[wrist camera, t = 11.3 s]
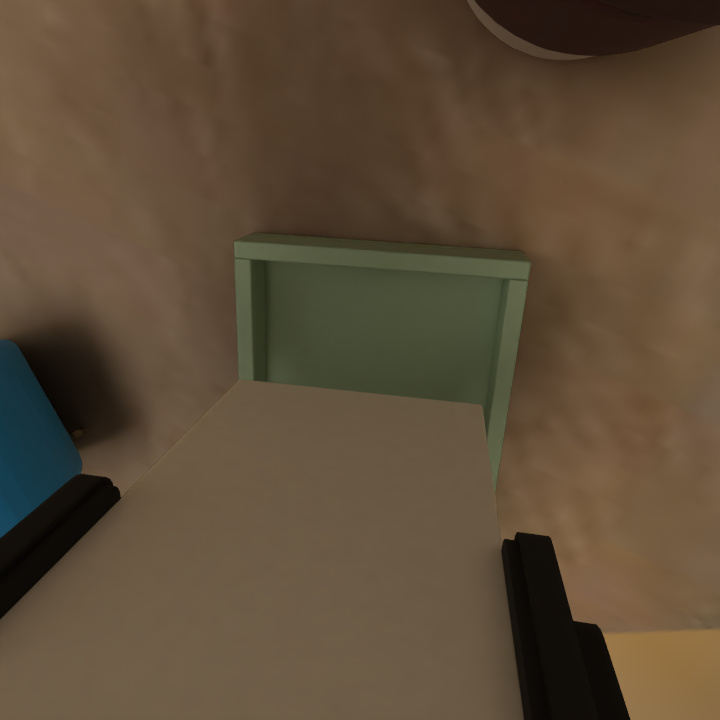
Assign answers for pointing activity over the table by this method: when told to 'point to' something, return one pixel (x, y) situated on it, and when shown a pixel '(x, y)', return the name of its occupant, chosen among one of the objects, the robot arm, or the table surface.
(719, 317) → the table surface
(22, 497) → the alarm clock
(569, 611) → the robot arm
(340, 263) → the green tray
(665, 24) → the coffee cup
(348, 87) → the table surface
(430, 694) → the white box
